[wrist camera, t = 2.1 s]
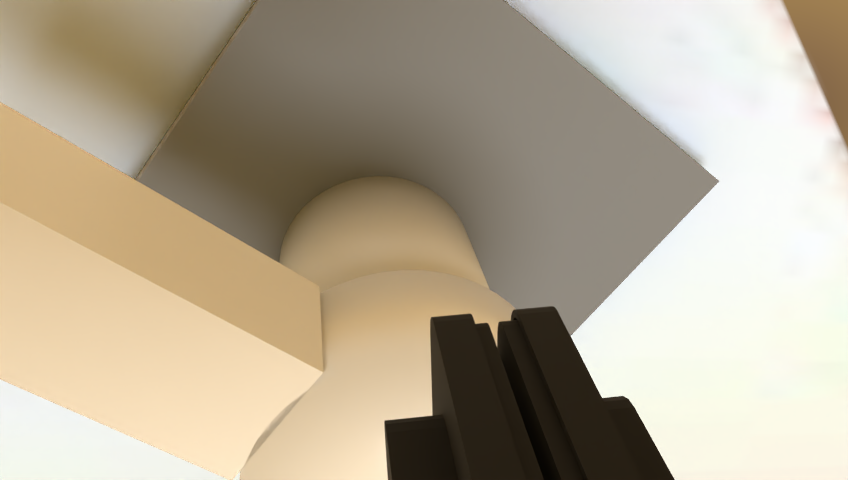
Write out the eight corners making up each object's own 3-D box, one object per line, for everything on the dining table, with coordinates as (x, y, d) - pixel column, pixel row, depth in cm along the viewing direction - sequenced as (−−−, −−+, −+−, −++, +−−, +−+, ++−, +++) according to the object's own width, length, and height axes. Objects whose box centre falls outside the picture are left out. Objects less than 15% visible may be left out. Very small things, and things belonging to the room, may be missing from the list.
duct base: (35, 326, 30) (-59, 506, 22) (346, -133, 24) (369, -112, 16) (390, 494, 36) (416, 679, 29) (700, 166, 31) (840, 284, 23)
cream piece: (600, 354, 23) (661, 462, 19) (422, 535, 25) (444, 663, 21) (-24, -47, 16) (-128, -7, 12) (-188, 256, 18) (-318, 372, 14)
